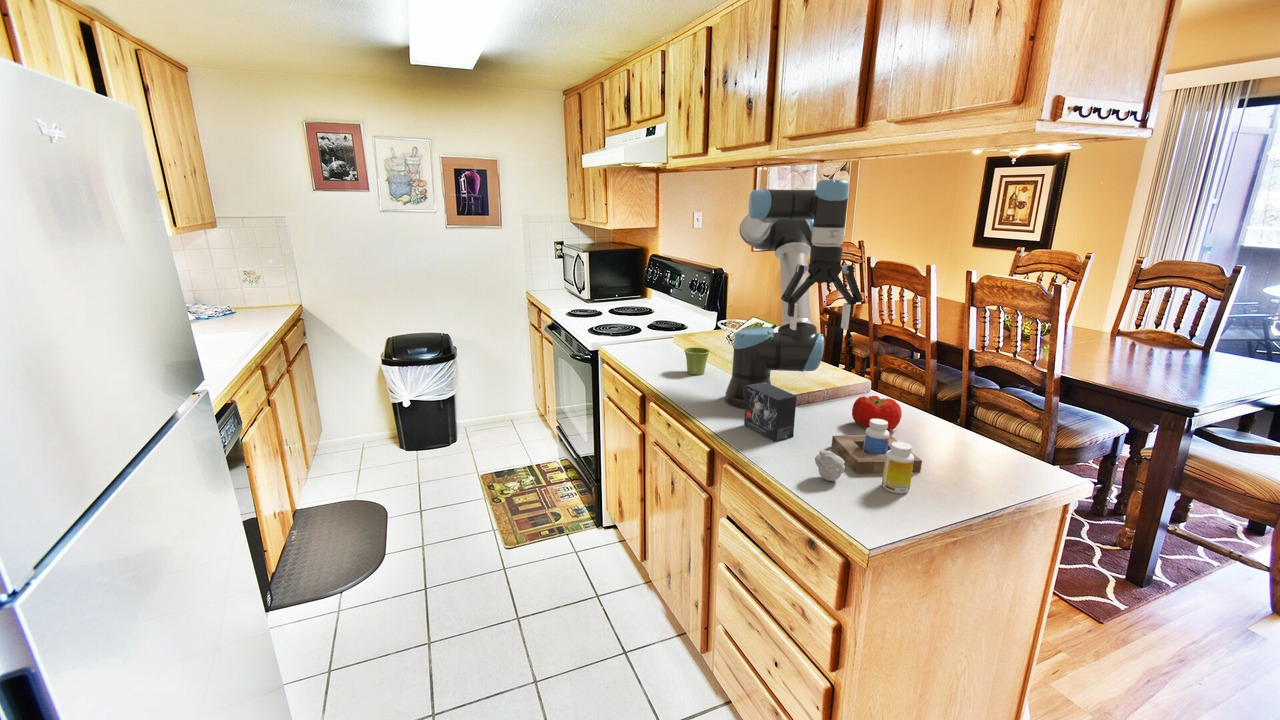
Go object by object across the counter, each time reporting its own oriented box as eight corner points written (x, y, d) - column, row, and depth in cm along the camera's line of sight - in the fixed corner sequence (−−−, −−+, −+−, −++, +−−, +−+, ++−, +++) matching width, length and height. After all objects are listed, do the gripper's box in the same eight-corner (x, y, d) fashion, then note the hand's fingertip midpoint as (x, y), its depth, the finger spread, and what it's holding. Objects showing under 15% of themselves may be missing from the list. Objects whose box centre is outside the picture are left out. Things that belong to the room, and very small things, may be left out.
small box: (742, 425, 153) (745, 384, 150) (761, 421, 156) (764, 381, 153) (774, 442, 142) (778, 399, 139) (794, 437, 145) (798, 395, 142)
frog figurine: (806, 475, 125) (809, 446, 123) (834, 471, 127) (837, 444, 125) (821, 487, 119) (824, 458, 117) (849, 484, 121) (853, 455, 119)
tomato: (903, 424, 155) (907, 396, 152) (894, 439, 145) (899, 409, 142) (856, 415, 162) (859, 387, 159) (845, 428, 152) (848, 399, 149)
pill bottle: (888, 464, 130) (893, 426, 128) (864, 462, 131) (869, 424, 129) (883, 455, 135) (888, 418, 133) (860, 453, 136) (864, 416, 134)
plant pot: (695, 367, 208) (696, 345, 206) (714, 373, 201) (715, 350, 199) (677, 372, 202) (678, 349, 200) (696, 378, 195) (697, 354, 193)
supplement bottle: (914, 494, 117) (921, 450, 114) (889, 495, 116) (895, 451, 114) (901, 482, 122) (907, 439, 119) (876, 482, 122) (882, 440, 119)
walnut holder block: (831, 446, 140) (832, 435, 139) (888, 445, 141) (889, 434, 140) (857, 473, 126) (858, 462, 125) (920, 472, 127) (922, 460, 126)
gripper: (782, 246, 131) (775, 332, 137) (883, 246, 133) (872, 331, 138) (773, 244, 138) (767, 326, 144) (868, 244, 140) (859, 325, 146)
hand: (818, 329), depth 141 cm, fingers open, 13 cm apart
